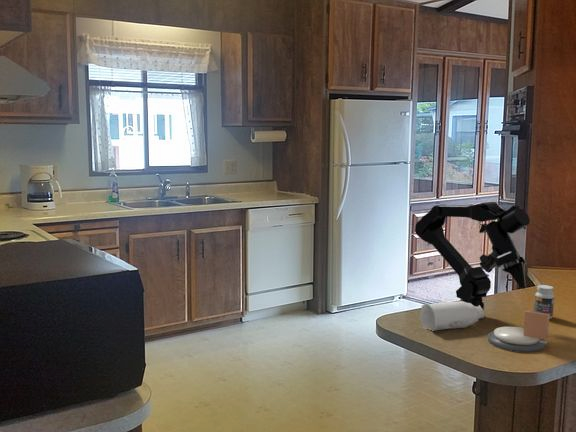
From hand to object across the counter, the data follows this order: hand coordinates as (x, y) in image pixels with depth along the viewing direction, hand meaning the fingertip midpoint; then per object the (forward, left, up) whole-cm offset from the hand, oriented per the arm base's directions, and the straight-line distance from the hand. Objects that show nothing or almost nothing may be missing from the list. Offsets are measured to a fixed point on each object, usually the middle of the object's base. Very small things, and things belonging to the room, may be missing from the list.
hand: (523, 288), depth 179 cm
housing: (-4, -10, -13) cm, 17 cm away
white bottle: (-20, +2, -13) cm, 24 cm away
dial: (-3, -11, -12) cm, 16 cm away
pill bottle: (+11, +16, -13) cm, 23 cm away
